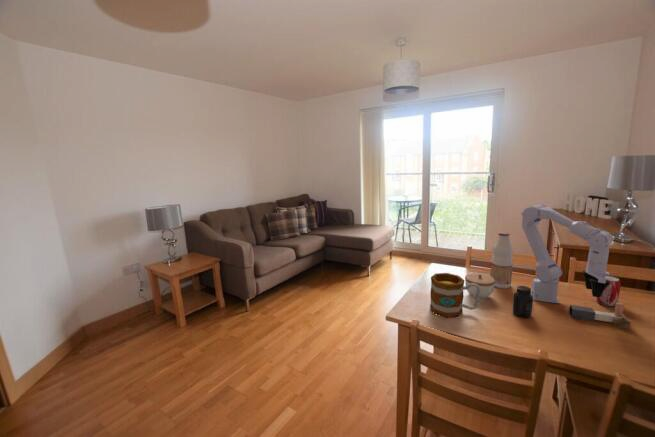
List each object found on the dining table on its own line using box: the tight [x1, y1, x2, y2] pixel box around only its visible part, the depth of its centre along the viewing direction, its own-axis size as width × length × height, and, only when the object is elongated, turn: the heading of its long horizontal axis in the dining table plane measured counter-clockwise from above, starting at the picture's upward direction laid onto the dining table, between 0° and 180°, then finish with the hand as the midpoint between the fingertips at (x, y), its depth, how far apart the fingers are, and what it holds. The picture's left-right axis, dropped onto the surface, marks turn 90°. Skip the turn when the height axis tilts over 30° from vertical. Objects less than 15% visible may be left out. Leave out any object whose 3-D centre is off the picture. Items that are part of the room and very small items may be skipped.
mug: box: [429, 272, 480, 319], centre depth 125 cm, size 20×14×15 cm
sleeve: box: [568, 304, 596, 323], centre depth 117 cm, size 7×4×4 cm, turn 63°
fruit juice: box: [489, 231, 515, 289], centre depth 147 cm, size 9×9×28 cm
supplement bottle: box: [512, 285, 534, 319], centre depth 120 cm, size 7×7×12 cm
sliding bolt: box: [594, 301, 625, 323], centre depth 113 cm, size 10×3×8 cm, turn 63°
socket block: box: [607, 311, 632, 329], centre depth 112 cm, size 4×6×3 cm
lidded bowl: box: [464, 272, 495, 300], centre depth 138 cm, size 13×13×11 cm
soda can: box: [595, 275, 622, 307], centre depth 126 cm, size 7×7×12 cm
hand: (592, 292), depth 118 cm, fingers open, 7 cm apart
